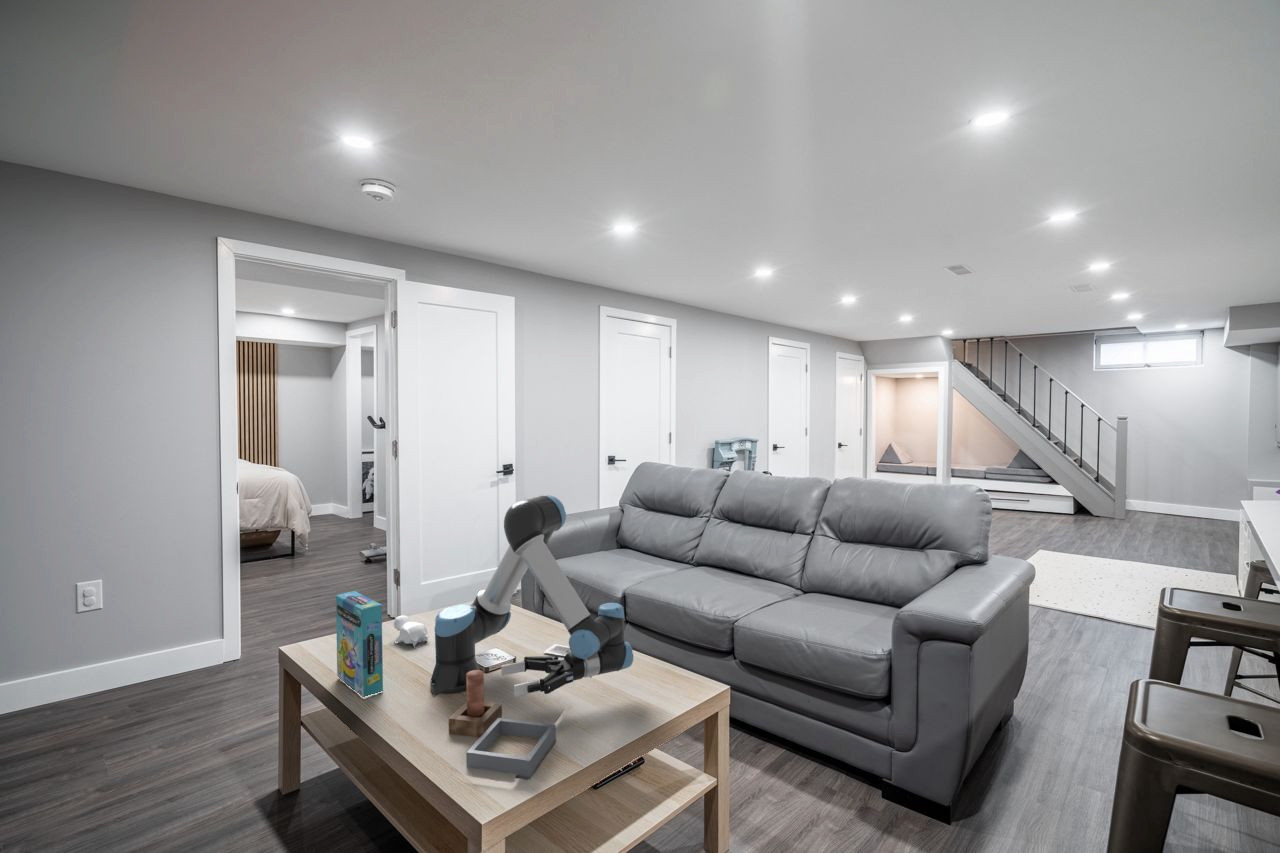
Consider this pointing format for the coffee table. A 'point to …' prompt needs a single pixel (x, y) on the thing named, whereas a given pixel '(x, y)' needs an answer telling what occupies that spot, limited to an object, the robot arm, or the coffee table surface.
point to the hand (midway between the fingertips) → (507, 680)
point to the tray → (512, 763)
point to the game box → (359, 643)
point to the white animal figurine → (410, 631)
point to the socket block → (474, 720)
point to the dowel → (475, 693)
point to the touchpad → (558, 650)
